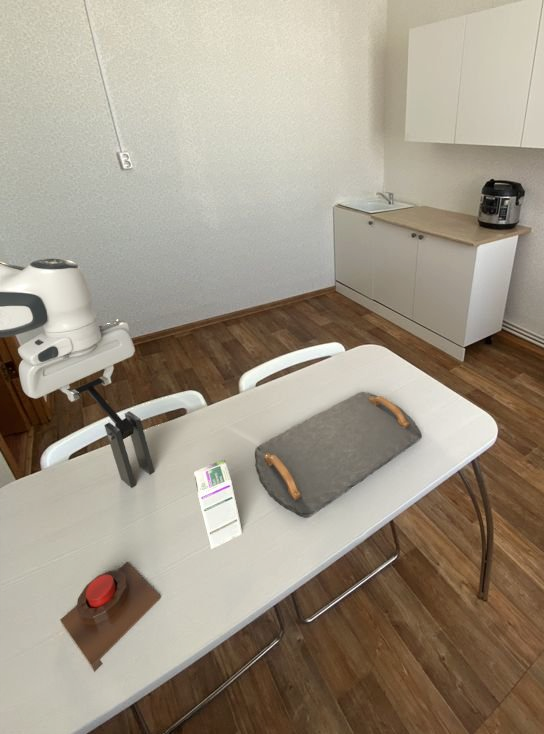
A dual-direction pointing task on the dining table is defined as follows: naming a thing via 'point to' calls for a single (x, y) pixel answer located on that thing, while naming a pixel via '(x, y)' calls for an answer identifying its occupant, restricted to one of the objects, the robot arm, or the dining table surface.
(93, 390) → the lever
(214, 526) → the syrup box
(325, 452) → the serving tray
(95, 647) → the control block
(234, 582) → the dining table surface
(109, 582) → the button
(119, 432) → the bracket
